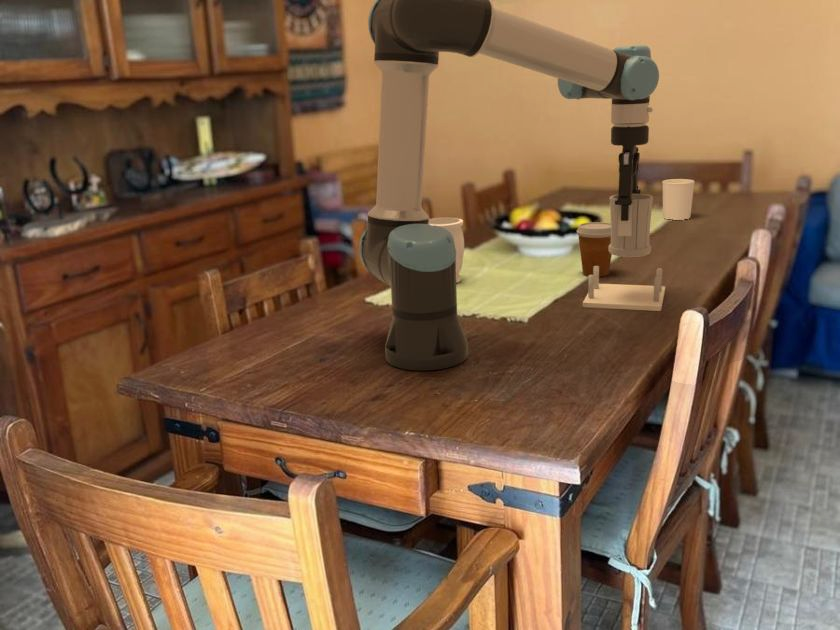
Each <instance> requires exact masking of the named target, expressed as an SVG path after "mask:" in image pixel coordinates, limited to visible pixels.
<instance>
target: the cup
mask: <svg viewBox="0 0 840 630" xmlns="http://www.w3.org/2000/svg"><path fill="white" fill-rule="evenodd" d="M617 199H618V194H614V195H610V197H609V210H610V212H609V213H610V214H609V215H610V223H611V244H610V245H609V252H610V253H611V254H612V255H613V256H615V257H616V256H617V257H623V258H638V257H645V256H647V255H650V253H651V251H652V245H651V244H650V235H651V233H650V232H651V222H652V221H651V220H652V219H651V218H652V212H653V211H652V210H653V202H654V196H652V195H651V194H644V193H640V194H632V203H631V204H632V235H631V236H618V205H615V201H617Z"/></svg>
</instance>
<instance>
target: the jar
mask: <svg viewBox="0 0 840 630" xmlns="http://www.w3.org/2000/svg"><path fill="white" fill-rule="evenodd" d="M428 224H430V225H431V226H434V225H436V226H440V227H443V228H445V229H447V230H448V231H449V232H450V233H451V234H452V235H453V238H454V244H455V249H456V284H457V283H460V282H461V281H462V277H461V275H460V272H461V270H462V269H463V268H462V267H463V260H464V253H465V238H464V232H463V228H462V227H463V226H464V220H463V219H462V218H458V217H446V216H445V217H434V218H433V217H432V218H429V222H428Z"/></svg>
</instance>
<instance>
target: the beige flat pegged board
mask: <svg viewBox="0 0 840 630" xmlns="http://www.w3.org/2000/svg"><path fill="white" fill-rule="evenodd" d="M653 278H654V279H653V285H645V284H644V285H640V284H619V283H618V284H617V283H616V284H615V283H600V277H599V266H594V271H593V275H589V276H588V291H587V294H586V295H585V298H584V300H583V301H582V308H589V309H590V308H593V309H594V308H595V309H608V310H609V309H612V310H613V309H614V310H632V311H649V312H650V311H651V312H652V311H654V312H661V311H662V308H663V302H664V298H665V292H666V286H664V285H663V268H662V267H658V268H656V276H655V277H653Z"/></svg>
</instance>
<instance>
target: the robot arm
mask: <svg viewBox="0 0 840 630" xmlns="http://www.w3.org/2000/svg"><path fill="white" fill-rule="evenodd" d="M374 1H375V2H374V3H373V5H372V6H371V9H370V12H369V15H368V18H367V19H368V21H367V25H368V32H369V35H370V38H371V40H372V42H373V43H374V59H373V60H374V61H373V63H374V64H375V65H376V66H377V68H378V70H380V72H381V86H380V87H381V91H380V110H379V111H380V112H379V113H380V114H379V134H378V135H379V136H378V152H377V153H378V156H377V157H378V158H377V177H376V178H377V179H376V181H377V182H376V183H377V184H376V199H375V201H376V203H375V205H374V206H373V207H372V208H371V209H370V210H369V211H368V212H367V223H366V224H367V225H366V226H367V227H366V228H365V230H364V231H363V233H362V235H361V237H360V240H359V246H358V247H359V257H360V259H361V262H362V264H363V266H364V267H365V268H366V270H367V272H368V273H369V274H370V275H372V277H374V278H375V279H376V280H378V281H379V282H381V283H384V284H385V285H387V286H389V287H390V294H391V308H392V309H391V311H392V312H391V313H392V319H391V323H390V326H389V330H388V334H387V338H386V342H385V345H384V357H385V361H386V362H387V363H388V364H389V365H390V366H393V367H395V368H397V369H398V368H399V369H403V370H409V371H435V370H442V369H448V368H451V367H454V366H457V365H459V364H461V363H463V362H465V361H467V359H468V358H469V343H468V340H467V337H466V334H465V332H464V329H463V327H462V324H461V321H460V319H459V315H458V300H457V299H458V298H457V297H458V296H457V295H458V293H457V283H456V249H455V244H454V238H453V235H452V234H451V233H450V232H449V231H448V230H447V229H445V228H443V227H440V226H436V225H434V226H431V225H430V224H428V222H429V219H430V217H429V215H428V213H427V212H426V211H425V210H424V209H423V207H422V202H423V185H424V168H425V167H424V165H425V153H426V152H425V151H426V150H425V148H426V136H427V134H426V133H427V131H426V130H427V117H428V100H429V98H428V97H429V88H430V85H429V83H430V76H431V74H433V72H434V71H435V70H436V69H437V68H438V67H439V57H440V52H441V53H442V52H443V53H455V54H458V55H459V54H460V55H463V56H465V57H466V56H467V57H469V58H473V57H475V56H477V55H479V54H481V55H484V56H487V57H488V58H489V57H490V58H493V59H496V60H498V61H502V62H505V63H509V64H512V65H515V66H518V67H521V68H524V69H527V70H531V71H533V72H537V73H540V74H543V75H547V76H550V77H552V78H556V79H557V87H558V91H559V93H560V95H561V96H562V97H563V98H564V99H567V100H581V99H605V100H606V99H611V104H610V105H611V108H610V109H611V111H610V123H611V124H612V125H613V126H612V127H611V128H610V142H611V143H610V144H611V145H613V146H622V151H621V152H619V153H620V154H618V163H619V164H618V174H619V175H618V191H617V192H618V193H617V195H618V199H617V201H615V205H618V236H631V235H632V204H631V203H632V194H641V191H642V190H641V189H639V185H638V184H639V183H638V182H639V180H638V179H639V178H638V177H639V176H638V174H639V167H640V166H639V161H640V159H641V158H640V156H641V154H640V152H639V147H638V146H643V145H647V144H649V141H650V140H649V137H650V135H649V134H650V133H649V131H650V130H649V129H650V127H649V125H647V123H649V122H650V121H649V120H650V114H649V113H652V112H653V108H652V107H650V99H651V98H650V97H651V95H652V94H653V93H654V91H655V90H656V89H657V87H658V84H659V80H660V71H659V68H658V65H657V64H656V62H655V61H654V60H653V59H652V54H651V49H650V47H649V46H647V45H632V46H631V45H630V46H629V45H627V46H626V45H625V46H616V47H614V48H613V49H610V48H608V47H604V46H602V45H600V44H597V43H594V42H590V41H588V40H585V39H582V38H580V37H576V36H574V35H571V34H568V33H565V32H563V31H560V30H556V29H554V28H551V27H549V26H546V25H543V24H540V23H537V22H534V21H532V20H528V19H526V18H523V17H520V16H517V15H514V14H512V13H509V12H506V11H503V10H500V9H498V8H495V7H494V5H493V2H492V1H491V0H374Z"/></svg>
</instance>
